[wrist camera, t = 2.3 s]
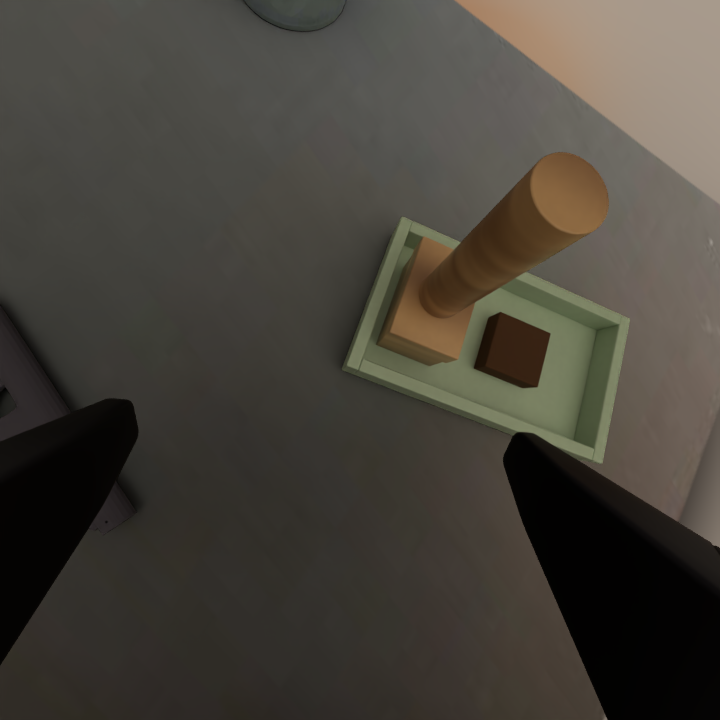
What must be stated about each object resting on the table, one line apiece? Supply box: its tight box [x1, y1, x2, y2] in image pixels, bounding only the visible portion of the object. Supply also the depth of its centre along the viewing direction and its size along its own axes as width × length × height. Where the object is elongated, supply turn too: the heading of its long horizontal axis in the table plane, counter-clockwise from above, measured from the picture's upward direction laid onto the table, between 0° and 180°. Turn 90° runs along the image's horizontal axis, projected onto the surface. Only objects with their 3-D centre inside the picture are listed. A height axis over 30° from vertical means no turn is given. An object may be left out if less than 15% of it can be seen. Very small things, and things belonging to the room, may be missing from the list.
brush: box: [376, 152, 609, 366], centre depth 16 cm, size 6×4×13 cm
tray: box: [342, 217, 630, 464], centre depth 22 cm, size 18×11×2 cm, turn 70°
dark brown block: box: [474, 312, 551, 388], centre depth 22 cm, size 4×4×2 cm
